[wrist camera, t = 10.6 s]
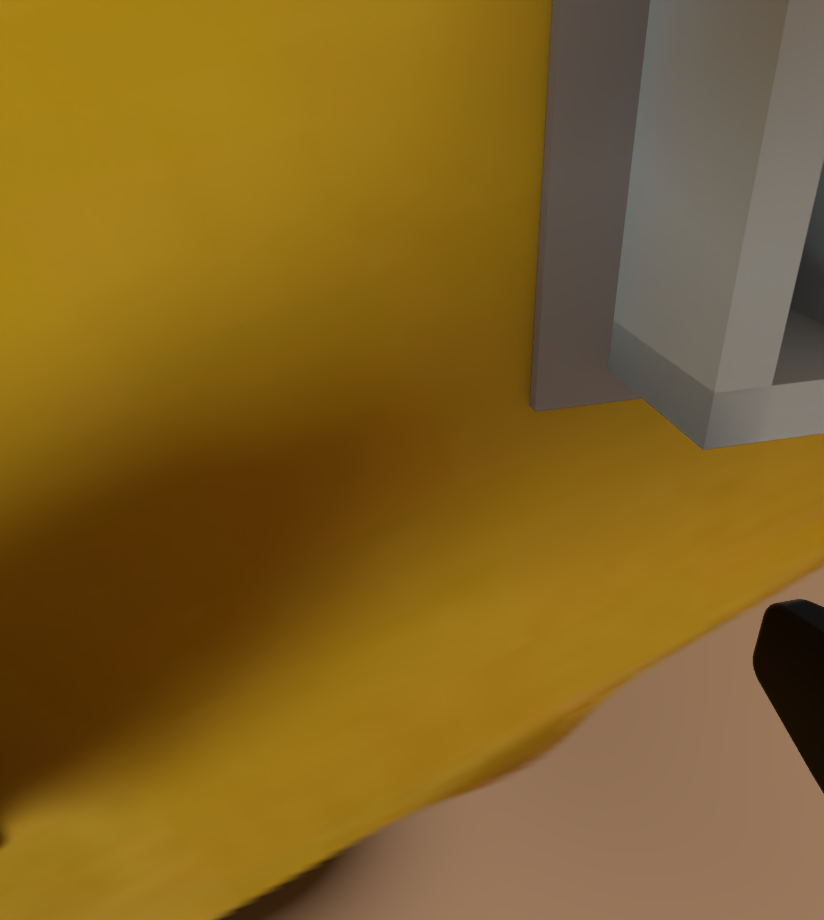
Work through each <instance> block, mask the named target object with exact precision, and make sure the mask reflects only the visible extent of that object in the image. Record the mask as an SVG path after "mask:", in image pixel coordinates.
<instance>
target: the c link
mask: <svg viewBox="0 0 824 920" xmlns="http://www.w3.org/2000/svg"><path fill="white" fill-rule="evenodd" d="M608 369H609V370H610V371H611V372H612V373H614V374H615V375H616V376H617V377H618V378H619V379H621V380H622V381H623V382H624V383H625V384H626V385H628V386H629V387H630V388H631V389H632V390H634V391H635V392H636V393H637V394H638V395H639V396H641V397H642V398H643V399H644V400H645V401H647V402H648V403H649V404H650V405H651V406H652V407H654V408H655V409H656V410H657V411H658V412H659V413H661V414H662V415H663V416H664V417H665V418H667V419H668V420H669V421H670V422H671V423H672V424H674V425H675V426H676V427H677V428H678V429H680V430H681V431H682V432H683V433H684V434H685V435H687V436H688V437H689V438H690V439H691V440H692V441H694V442H695V443H696V444H697V445H698V446H700V447H701V448H702V449H703V450H705V449H712V448H720V447H727V446H734V445H741V444H749V443H756V442H763V441H770V440H778V439H785V438H792V437H800V436H807V435H814V434H821V433H824V0H650V7H649V16H648V25H647V33H646V42H645V51H644V59H643V68H642V77H641V85H640V94H639V103H638V112H637V120H636V129H635V138H634V146H633V155H632V164H631V172H630V181H629V190H628V199H627V207H626V216H625V225H624V233H623V242H622V251H621V259H620V268H619V277H618V286H617V294H616V303H615V312H614V320H613V329H612V338H611V346H610V355H609V364H608Z"/></svg>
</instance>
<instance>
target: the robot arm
mask: <svg viewBox="0 0 824 920" xmlns="http://www.w3.org/2000/svg"><path fill="white" fill-rule="evenodd" d="M753 666H754V671H755V673H756V676H757V678H758V681H759V682H760V684H761V686H762V687H763V689H764V691H765V693H766V695H767V696H768V698H769V700H770V702H771V703H772V705H773V707H774V708H775V710H776V712H777V714H778V716H779V717H780V719H781V721H782V722H783V724H784V726H785V728H786V730H787V731H788V733H789V735H790V737H791V738H792V740H793V742H794V743H795V745H796V747H797V749H798V751H799V752H800V754H801V756H802V757H803V759H804V761H805V763H806V765H807V766H808V768H809V770H810V772H811V773H812V775H813V777H814V778H815V780H816V782H817V783H818V785H819V787H820V788H821V790H822V791H823V793H824V607H822V606H819V605H817V604H815V603H812V602H810V601H807V600H803V599H796V600H790V601H785V602H780V603H774V604H772V605H770V606H769V607H768V608H767V609H766V611H765V613H764V616H763V620H762V623H761V628H760V631H759V635H758V639H757V643H756V646H755V650H754V653H753Z"/></svg>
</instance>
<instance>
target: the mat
mask: <svg viewBox="0 0 824 920" xmlns="http://www.w3.org/2000/svg"><path fill="white" fill-rule="evenodd" d="M649 7H650V0H553V3H552V20H551V38H550V56H549V73H548V91H547V108H546V126H545V144H544V161H543V179H542V196H541V214H540V232H539V249H538V267H537V284H536V302H535V320H534V337H533V355H532V372H531V390H530V406H531V407H532V409H533V410H534V411H535V412H537V411H545V410H552V409H560V408H568V407H576V406H584V405H592V404H600V403H607V402H615V401H623V400H631V399H639V398H642V397H641V396H639V395H638V394H637V393H636V392H635V391H634V390H632V389H631V388H630V387H629V386H628V385H626V384H625V383H624V382H623V381H622V380H621V379H619V378H618V377H617V376H616V375H615V374H614V373H612V372H611V371H610V370H609V369H608V364H609V355H610V346H611V338H612V329H613V320H614V312H615V303H616V294H617V286H618V277H619V268H620V259H621V251H622V242H623V233H624V225H625V216H626V207H627V199H628V190H629V181H630V172H631V164H632V155H633V146H634V138H635V129H636V120H637V112H638V103H639V94H640V85H641V77H642V68H643V59H644V51H645V42H646V33H647V25H648V16H649Z"/></svg>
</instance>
